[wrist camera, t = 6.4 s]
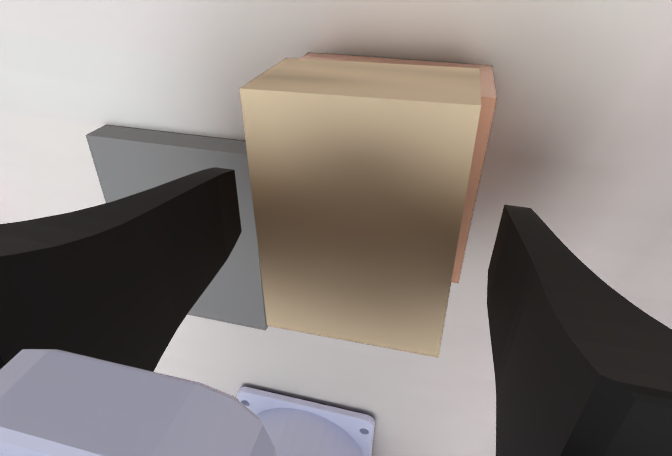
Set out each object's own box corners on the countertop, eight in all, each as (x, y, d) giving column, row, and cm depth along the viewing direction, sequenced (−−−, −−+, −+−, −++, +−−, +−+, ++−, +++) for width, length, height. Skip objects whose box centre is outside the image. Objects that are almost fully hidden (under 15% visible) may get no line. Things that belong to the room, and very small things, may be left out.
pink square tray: (460, 226, 18) (458, 282, 15) (311, 205, 19) (282, 253, 16) (491, 65, 14) (496, 98, 11) (308, 52, 15) (271, 78, 13)
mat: (274, 313, 23) (265, 330, 22) (149, 288, 24) (136, 304, 23) (261, 142, 18) (249, 155, 17) (105, 124, 19) (85, 135, 18)
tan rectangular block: (443, 288, 15) (438, 357, 12) (298, 265, 16) (267, 325, 14) (479, 68, 11) (481, 105, 9) (286, 57, 12) (239, 88, 10)
